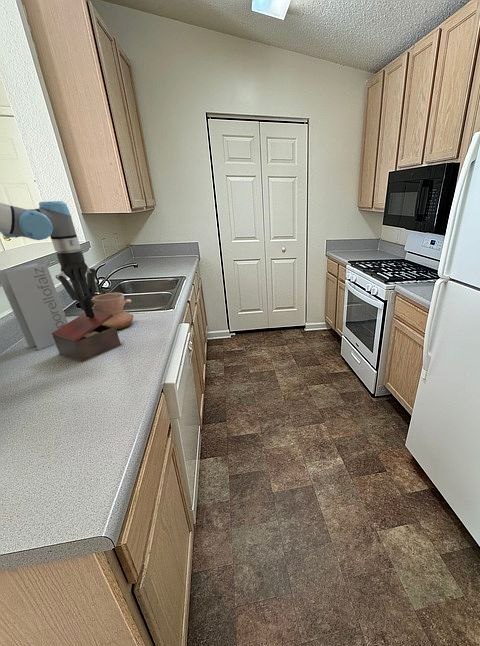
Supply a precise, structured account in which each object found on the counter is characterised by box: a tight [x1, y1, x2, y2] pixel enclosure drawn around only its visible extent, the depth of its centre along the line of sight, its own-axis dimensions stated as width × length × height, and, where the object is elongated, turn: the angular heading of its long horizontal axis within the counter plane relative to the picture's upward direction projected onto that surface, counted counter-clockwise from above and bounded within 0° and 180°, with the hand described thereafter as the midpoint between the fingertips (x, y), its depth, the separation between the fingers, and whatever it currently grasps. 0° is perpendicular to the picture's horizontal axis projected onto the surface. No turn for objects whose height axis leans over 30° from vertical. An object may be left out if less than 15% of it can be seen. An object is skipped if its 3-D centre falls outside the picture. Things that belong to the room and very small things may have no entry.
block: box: [82, 331, 98, 339], centre depth 127 cm, size 5×5×5 cm
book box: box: [53, 324, 122, 362], centre depth 125 cm, size 16×14×8 cm
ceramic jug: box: [91, 292, 134, 331], centre depth 145 cm, size 18×14×14 cm
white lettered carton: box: [0, 262, 69, 351], centre depth 127 cm, size 14×6×30 cm, turn 159°
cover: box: [51, 309, 113, 342], centre depth 122 cm, size 16×14×1 cm
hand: (90, 316), depth 124 cm, fingers closed
